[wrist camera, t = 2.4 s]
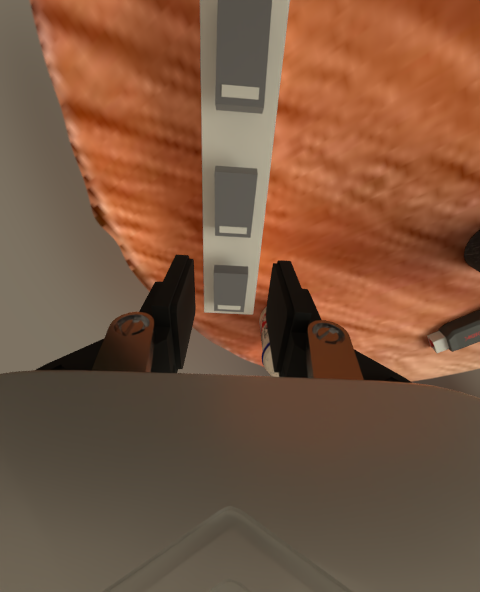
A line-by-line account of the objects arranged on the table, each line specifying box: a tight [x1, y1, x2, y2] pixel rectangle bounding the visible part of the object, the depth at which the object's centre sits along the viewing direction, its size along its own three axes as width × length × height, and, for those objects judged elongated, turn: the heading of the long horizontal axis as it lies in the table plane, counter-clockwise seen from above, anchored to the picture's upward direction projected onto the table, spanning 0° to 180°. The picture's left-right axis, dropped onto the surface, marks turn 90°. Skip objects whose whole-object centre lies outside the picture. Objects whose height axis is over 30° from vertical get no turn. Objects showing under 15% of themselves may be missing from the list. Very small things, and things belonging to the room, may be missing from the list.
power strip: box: [200, 0, 290, 315], centre depth 28 cm, size 36×7×5 cm, turn 176°
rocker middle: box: [214, 166, 258, 238], centre depth 27 cm, size 7×4×2 cm, turn 176°
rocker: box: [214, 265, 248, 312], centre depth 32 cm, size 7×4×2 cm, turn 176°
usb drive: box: [427, 310, 480, 353], centre depth 43 cm, size 5×12×3 cm, turn 125°
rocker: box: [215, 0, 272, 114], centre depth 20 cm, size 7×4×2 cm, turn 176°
